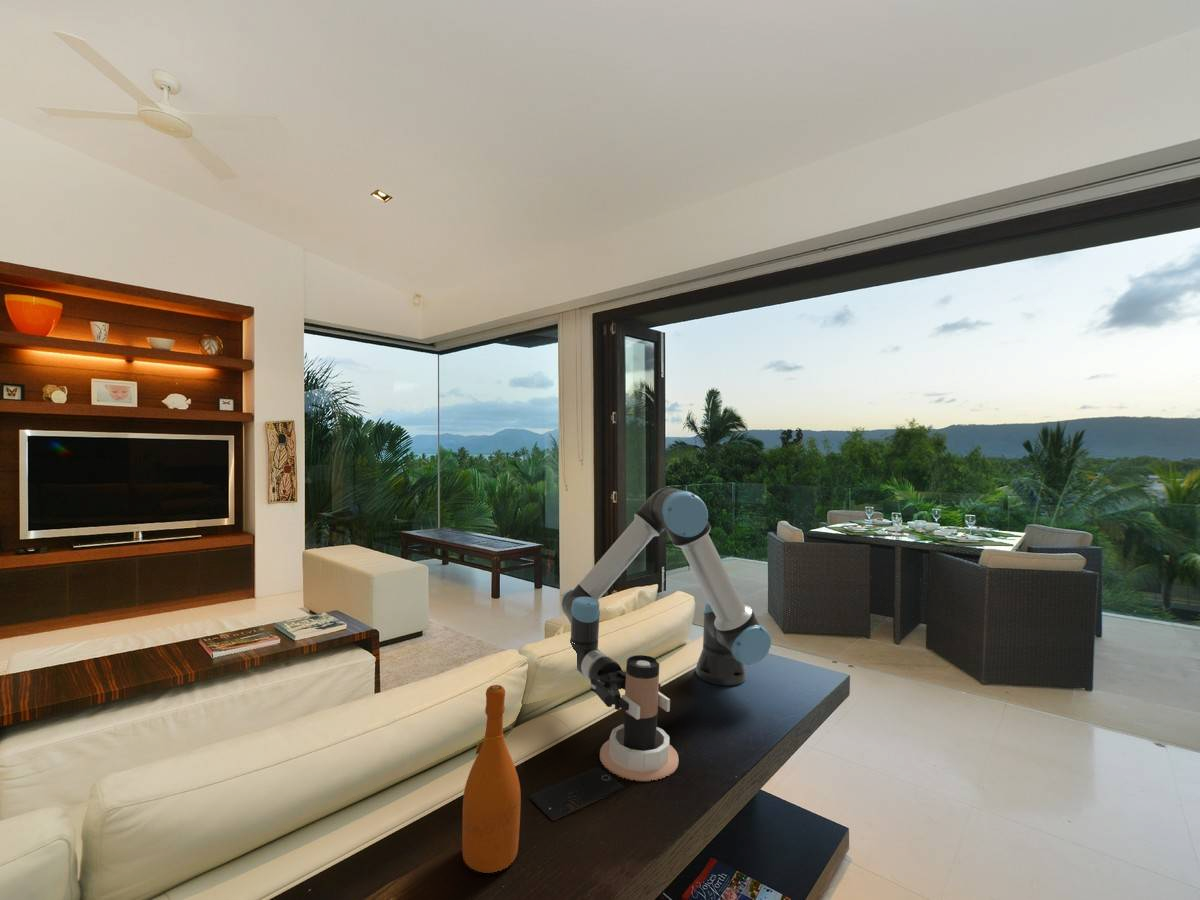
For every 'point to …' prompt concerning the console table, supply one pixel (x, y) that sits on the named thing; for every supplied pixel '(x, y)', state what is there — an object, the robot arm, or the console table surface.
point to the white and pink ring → (639, 757)
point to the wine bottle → (491, 797)
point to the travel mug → (642, 702)
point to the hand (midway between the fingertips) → (653, 709)
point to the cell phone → (587, 783)
